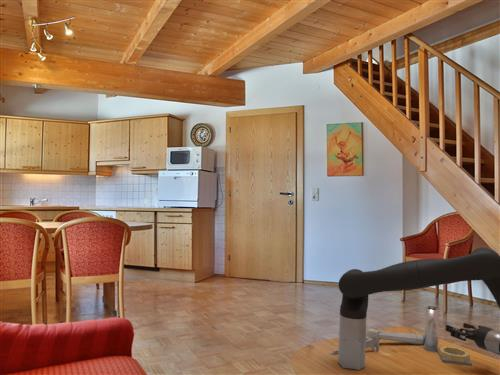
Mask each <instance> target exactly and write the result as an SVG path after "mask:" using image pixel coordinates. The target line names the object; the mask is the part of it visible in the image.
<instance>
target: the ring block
mask: <svg viewBox="0 0 500 375" xmlns="http://www.w3.org/2000/svg"><path fill="white" fill-rule="evenodd" d="M437 354H438V356H439V358H440V360H441V363H448V364H455V365H463V366H469V365H470V367H472V366H473V363H472V361H471V360H470V359H471V355H470V353H469V352H468V350H465V349H462V348H459V347H456V346H448V345H446V346H441V347H439V348H438V351H437Z"/></svg>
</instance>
